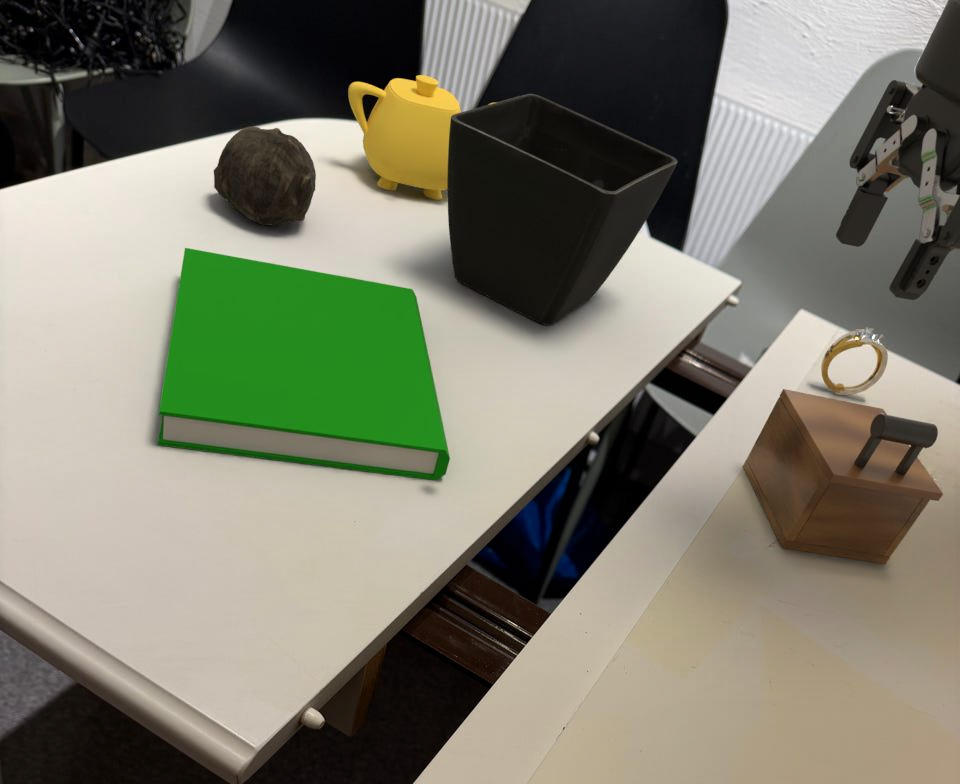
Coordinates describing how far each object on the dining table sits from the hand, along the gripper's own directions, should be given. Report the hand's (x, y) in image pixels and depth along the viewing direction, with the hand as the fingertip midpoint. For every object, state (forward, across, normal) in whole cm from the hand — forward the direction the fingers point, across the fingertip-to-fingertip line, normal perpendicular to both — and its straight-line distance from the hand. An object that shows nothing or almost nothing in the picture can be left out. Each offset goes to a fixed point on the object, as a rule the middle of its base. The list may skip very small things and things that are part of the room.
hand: (873, 268), depth 70 cm
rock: (+24, +50, +40) cm, 68 cm away
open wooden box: (+24, +4, -10) cm, 26 cm away
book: (+24, +17, +37) cm, 47 cm away
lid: (+16, +3, -10) cm, 19 cm away
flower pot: (+24, +42, +10) cm, 50 cm away
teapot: (+24, +69, +20) cm, 76 cm away
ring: (+24, +28, -25) cm, 45 cm away
